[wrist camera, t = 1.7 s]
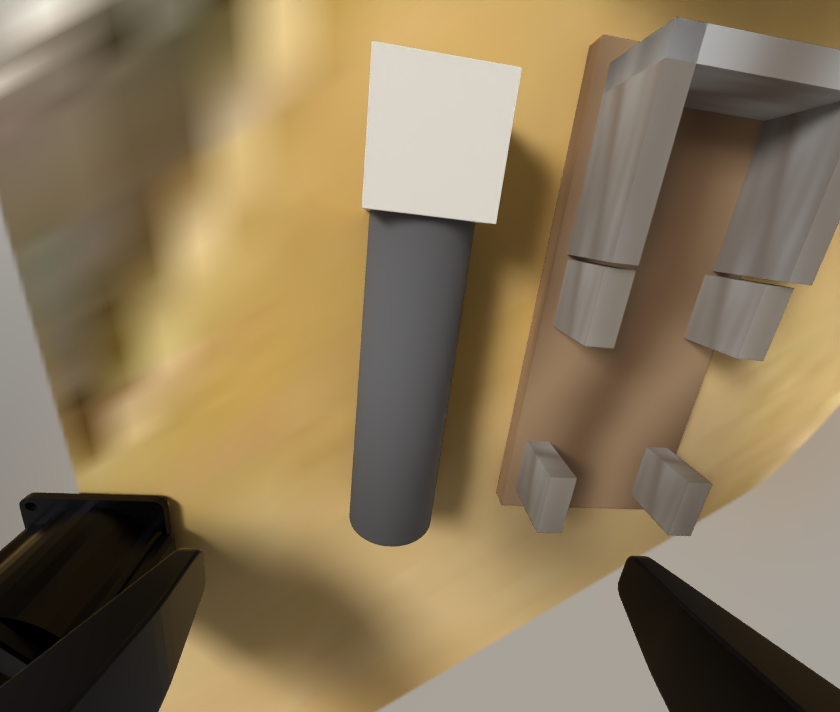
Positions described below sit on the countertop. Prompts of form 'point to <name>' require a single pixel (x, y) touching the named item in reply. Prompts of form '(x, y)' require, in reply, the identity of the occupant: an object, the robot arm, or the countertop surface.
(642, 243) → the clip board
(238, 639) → the countertop surface
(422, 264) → the gray rod with block
